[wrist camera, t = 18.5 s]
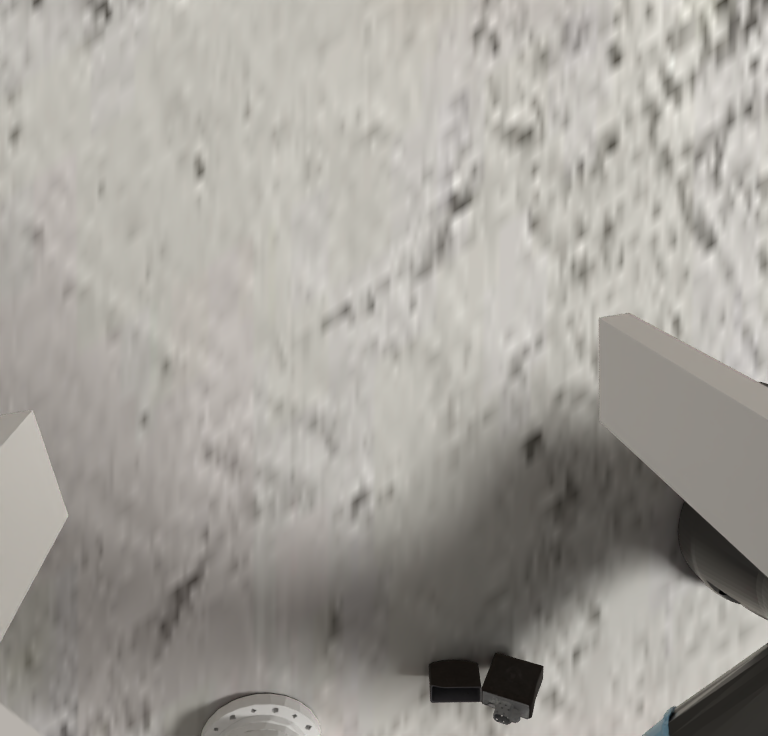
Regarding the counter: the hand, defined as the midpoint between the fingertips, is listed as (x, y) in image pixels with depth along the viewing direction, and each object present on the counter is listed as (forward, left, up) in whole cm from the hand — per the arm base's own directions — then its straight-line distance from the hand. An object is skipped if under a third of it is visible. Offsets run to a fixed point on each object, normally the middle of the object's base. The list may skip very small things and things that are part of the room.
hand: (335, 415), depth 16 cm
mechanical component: (+10, +41, -29) cm, 51 cm away
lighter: (-9, +38, -29) cm, 49 cm away
